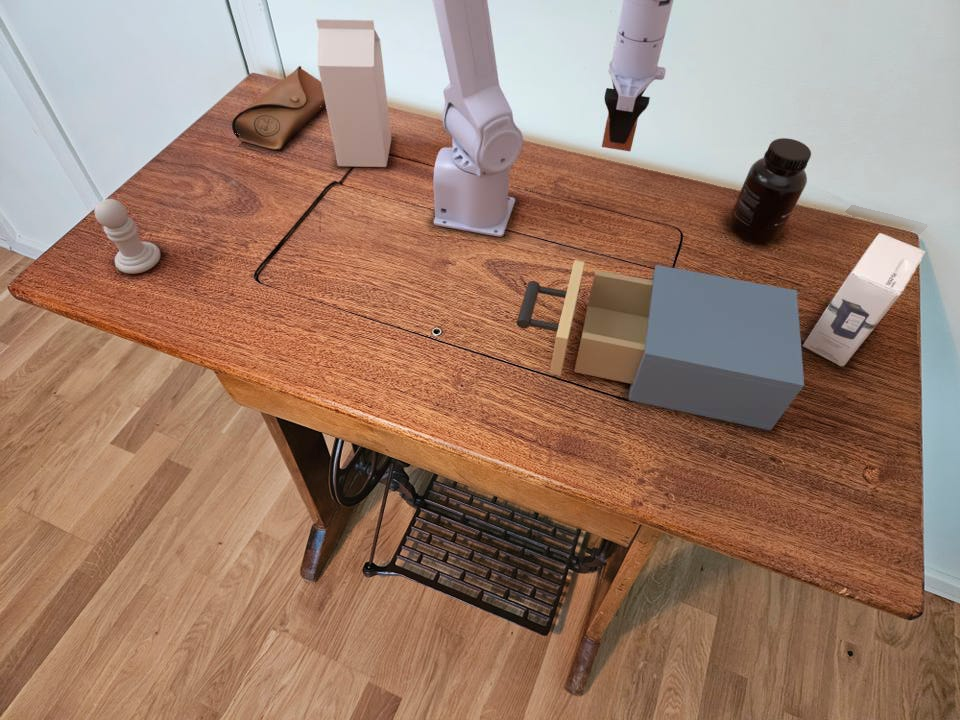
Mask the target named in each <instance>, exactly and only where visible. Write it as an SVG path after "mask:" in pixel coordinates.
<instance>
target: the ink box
mask: <svg viewBox="0 0 960 720" xmlns="http://www.w3.org/2000/svg"><path fill="white" fill-rule="evenodd" d="M926 252H927V251H926V250H924V249H921V248H920V247H916V246H914V245H911V244H909V243H906V242H903V241H902V240H899V239H896V238H894V237H892V236H889V235H887V234H885V233H882V232H879V233H878V234H877V235H876V237H875V238H874V239H873V241H872V242H871V243H870V244H869V246H868V247H867V249H866V250H865V251H864V253H863V255H862V256H861V257H860V258H859V260H858V262H857V263H856V264H855V265H854V267H853V269H852V270H851V271H850V272H849V274H848V275H847V277H846V279H845V280H844V281H843V283H842V285H841V286H840V287H839V289H838V290H837V292H836V293H835V295H834V296H833V298H832V299H831V301H830V302H829V303H828V306H827V307H826V308H825V310H824V311H823V312H822V314H821V316H820V317H819V319H818V321H817V322H816V324H815V325H814V327H813V329H812V330H811V332H810V333H809V335H808V336H807V338H806V340H805V341H804V343H803V344H802V347H803V348H805V349H807V350H809V351H811V352H812V353H815V354H817V355H819V356H821V357H822V358H824V359H826V360H828V361H830V362H832V363H833V364H836V365H838V366H839V367H844V366H845V365H846V364H847V363H848V362H849V361H850V360H851V358H852V357H853V355H855V353H856V352H857V350H858V349H859V348H860V347H861V345H862V344H863V343H864V341H866V339H867V338H868V336H870V335H871V333H872V332H873V330H874V329H875V328H876V327H877V325H878V324H879V323H880V322H881V320H882V319H883V318H884V316H886V313H888V311H889V310H890V308H892V306H893V305H894V304H895V302H896V301H897V300H898V298H899V297H900V296H901V295H902V294H903V292H904V291H905V289H906V287H907V286H908V284H909V282H910V280H911V279H912V277H913V275H914V274H915V272H916V271H917V268H918V266H919V265H920V263H921V262H922V260H923V258H924V257H925V256H926Z"/></svg>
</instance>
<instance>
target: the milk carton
mask: <svg viewBox="0 0 960 720" xmlns="http://www.w3.org/2000/svg"><path fill="white" fill-rule="evenodd" d="M315 20H316V21H315V22H316V25H317V67H318V73H319V78H320V81H321V83H322V88H323V93H324V98H325V103H326V108H325V109H326V113H327V118H328V123H329V128H330V133H331V138H332V142H333V144H332V145H333V149H334V153H335V158H336V163H337V166H338V167H354V168H355V167H357V168H358V167H360V168H361V167H363V168H365V167H366V168H386V167H387V165H388V159H389V154H390V149H391V142H392V133H391V131H392V130H391V123H390V115H389V105H388V97H387V96H388V95H387V89H386V87H387V86H386V80H385V78H386V77H385V72H384V62H383V53H382V45H381V44H382V43H381V38H380V36H379V35H378V32H377V31H376V29H375V23H374V19H338V18H336V19H335V18H316V19H315Z"/></svg>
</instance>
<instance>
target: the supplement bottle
mask: <svg viewBox="0 0 960 720" xmlns="http://www.w3.org/2000/svg"><path fill="white" fill-rule="evenodd" d="M811 157H812V151H811V149H810V147H808V146H807V145H806V144H805V143H804V142H801V141H799V140H797V139H793V138H788V137H787V138H786V137H781V138H776V139H774V140H772V141H771V142H770V143H769V146H768V148H767V150H766V151H765V152H764V154H763V157H762V158H759V159H757V160H756V161H755V162H753V164H751V167H750V169H749V170H748V173H747V175H746V177H745V180H744V182H743V184H742V187H741V189H740V191H739V194H738V196H737V199H736V201H735V204H734V206H733V208H732V210H731V213H730V215H729V219H728V224H729V227H730V230H731V231H732V232H733V233H734V234H735V235H736V236H737V237H739V238H740V239H742V240H744V241H746V242H750V243H755V244H766V243H770V242H773V241H775V240H776V239H778V238H779V237H780V235H781V233H782V232H783V230H784V228H785V226H786V224H787V222H788V221H789V218H790V216H791V214H792V213H793V211H794V209H795V207H796V205H797V203H798V201H799V199H800V197H801V196H802V194H803V192H804V190H805V188H806V185H807V183H808V177H807V172H806V171H805V170H806V168H807V166H808V163H809V162H810V159H811Z"/></svg>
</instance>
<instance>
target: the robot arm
mask: <svg viewBox="0 0 960 720" xmlns="http://www.w3.org/2000/svg"><path fill="white" fill-rule="evenodd" d="M432 4H433V7H434V8H433V9H434V13H435V18H436V23H437V27H438V32H439V36H440V41H441V46H442V50H443V55H444V60H445V65H446V69H447V74H448V79H449V83H448V84H447V85H446V87H445V88H444V89H443V91H442V92H443V97H444V108H443V112H442V117H441V118H442V126H443V128H444V131H445V132H446V133H447V134H448V135H449V136H451V137H452V138H451V140H452V141H451V143H452V145H451V146H452V147H442V148H440V150H439V151H438V154H437V155H436V158H435V161H434V162H435V163H434V167H433V183H432V187H433V201H434V204H433V205H434V219H433V224H434V226H437V227H444V228H449V229H453V230H460V231H465V232H471V233H476V234H481V235H486V236H493V237H499V238H500V237H503V236H504V234H505V232H506V229H507V227H508V223H509V220H510V217H511V215H512V212H513V210H514V206H515V203H516V198H515V197H512V196H509V189H510V175H511V174H510V173H511V168H512V166H513V165H514V163H516V161H517V160H518V158H519V157H520V155H521V153H522V150H523V146H524V135H523V132H522V131H521V130H520V128H519V127H518V126H517V125H516V123H515V121H514V115H513V110H512V108H511V106H510V104H509V102H508V100H507V98H506V96H505V94H504V91H503V90H502V88H501V85H500V82H499V74H498V66H497V59H496V52H495V45H494V38H493V31H492V23H491V16H490V9H489V3H488V0H432ZM673 4H674V0H622V4H621V10H620V16H619V20H618V26H617V30H616V36H615V41H614V48H613V51H612V58H611V61H610V62H609V65H608V74H609V77H610V79H611V82H612V87H613V88H609V87H606V89H605V92H604V104H605V106H606V109H607V112H608V113H609V137H610V142H615V143H621V144H625V142H626V141H627V139H628V137H629V135H630V133H631V130H632V128H633V126H634V124H635V122H636V120H637V118H638V119H639V117H640V116H641V115H642V113H643V112H644V111H645V110H646V109H647V108H648V107H649V104H650V99H651V97H650V96H645V95H643V94H644V93H645V91H646V90H647V88H648V87H649V85H651V83H653V82H654V81H655V80H657V81H662V80H663V81H664V79H665V76H666V71H667V69H666V68H665V67H663V66H659V61H660V57H661V53H662V49H663V45H664V41H665V37H666V32H667V29H668V25H669V21H670V16H671V12H672V8H673ZM608 113H607V114H608ZM637 121H638V120H637Z"/></svg>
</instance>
